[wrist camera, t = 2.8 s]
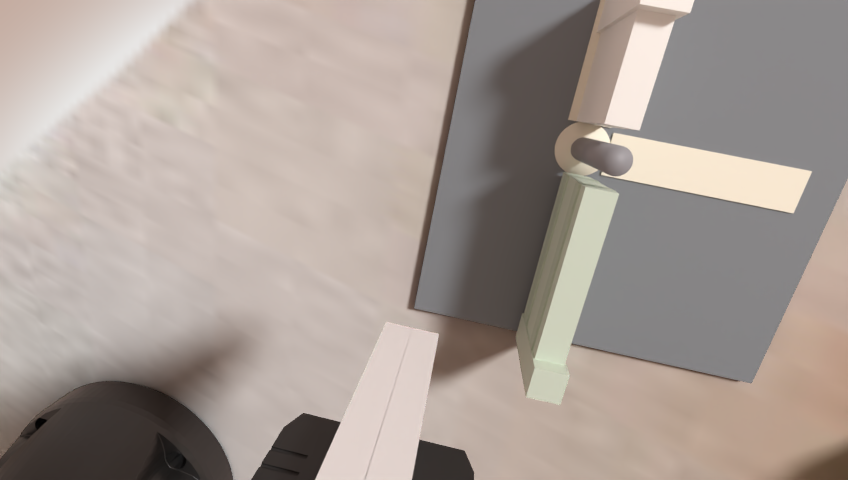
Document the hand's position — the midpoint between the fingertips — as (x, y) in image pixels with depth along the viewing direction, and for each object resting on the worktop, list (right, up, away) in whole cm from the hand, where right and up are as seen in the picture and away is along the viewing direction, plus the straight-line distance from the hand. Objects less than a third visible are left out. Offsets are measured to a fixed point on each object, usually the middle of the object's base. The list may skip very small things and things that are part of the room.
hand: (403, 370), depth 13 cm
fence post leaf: (+10, +12, +10) cm, 18 cm away
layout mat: (+12, +7, +11) cm, 18 cm away
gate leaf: (+8, +2, +12) cm, 15 cm away
